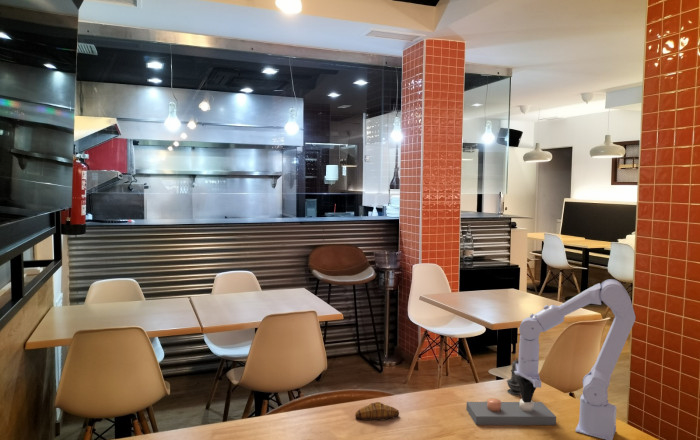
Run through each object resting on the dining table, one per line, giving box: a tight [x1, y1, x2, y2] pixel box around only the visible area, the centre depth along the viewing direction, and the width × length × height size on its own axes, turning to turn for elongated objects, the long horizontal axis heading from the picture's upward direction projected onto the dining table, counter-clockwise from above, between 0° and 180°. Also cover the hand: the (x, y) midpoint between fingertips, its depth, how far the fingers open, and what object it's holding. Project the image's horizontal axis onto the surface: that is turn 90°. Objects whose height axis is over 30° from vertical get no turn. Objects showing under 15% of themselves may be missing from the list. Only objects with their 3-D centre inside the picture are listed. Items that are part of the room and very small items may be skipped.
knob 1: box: [486, 397, 502, 412], centre depth 148 cm, size 4×4×5 cm
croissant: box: [354, 401, 400, 421], centre depth 146 cm, size 14×7×5 cm, turn 100°
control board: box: [465, 401, 557, 426], centre depth 149 cm, size 24×10×2 cm, turn 92°
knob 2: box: [519, 398, 535, 412], centre depth 149 cm, size 4×4×5 cm
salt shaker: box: [506, 358, 522, 396], centre depth 167 cm, size 6×6×12 cm
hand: (526, 401), depth 149 cm, fingers closed
